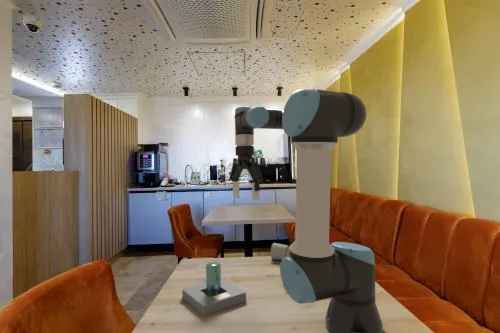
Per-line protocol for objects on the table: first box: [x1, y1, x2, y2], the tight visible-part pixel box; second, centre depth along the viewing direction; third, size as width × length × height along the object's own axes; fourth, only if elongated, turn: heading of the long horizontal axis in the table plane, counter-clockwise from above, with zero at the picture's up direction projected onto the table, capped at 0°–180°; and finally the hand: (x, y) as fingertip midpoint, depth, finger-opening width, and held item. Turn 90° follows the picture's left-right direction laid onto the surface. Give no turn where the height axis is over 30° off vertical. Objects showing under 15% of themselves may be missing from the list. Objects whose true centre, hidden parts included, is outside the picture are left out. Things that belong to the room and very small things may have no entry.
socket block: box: [181, 277, 247, 317], centre depth 102 cm, size 16×16×3 cm
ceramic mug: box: [270, 242, 290, 261], centre depth 146 cm, size 11×8×8 cm
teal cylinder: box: [205, 261, 222, 297], centre depth 102 cm, size 5×5×12 cm
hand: (245, 198), depth 120 cm, fingers open, 13 cm apart
